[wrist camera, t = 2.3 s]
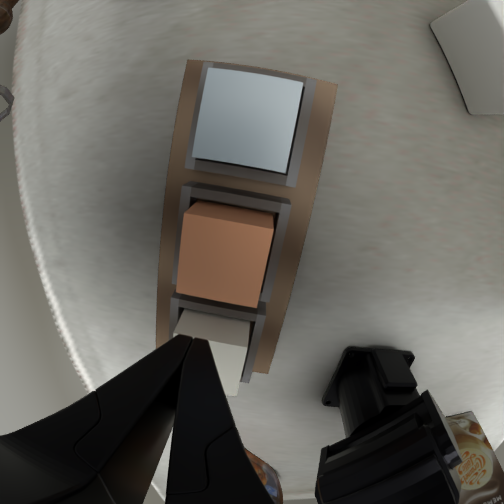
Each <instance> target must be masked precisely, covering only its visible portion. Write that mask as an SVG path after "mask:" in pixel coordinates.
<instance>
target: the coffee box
mask: <svg viewBox="0 0 504 504" xmlns="http://www.w3.org/2000/svg"><path fill="white" fill-rule="evenodd" d="M445 419H446V421H447V423H448V424H449V426H450V428H451V430H452V432H453V434H454V437H455V440H456V442H457V445H458V448H459V451H460V454H461V457H462V460H463V462H462V463H461V464H459V465H458V466H456V467H455V468H456V471H457V473H458V475H459V478H460V480H461V492H460V498H459V503H458V504H504V472H503V470H502V468H501V466H500V463H499V462H498V459H497V457H496V455H495V453H494V451H493V449H492V447H491V445H490V443H489V441H488V439H487V437H486V435H485V433H484V432H483V430H482V428H481V426H480V424H479V422H478V420H477V419H476V417H475V415H474V413H473V412H468V413H464V414H460V415H455V416H451V417H446V418H445Z"/></svg>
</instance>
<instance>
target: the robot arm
mask: <svg viewBox="0 0 504 504" xmlns="http://www.w3.org/2000/svg"><path fill="white" fill-rule="evenodd" d="M350 353H352V354H350ZM349 354H350V355H349ZM409 357H410V358H409ZM408 358H409V359H408ZM414 359H415V356H414V355H413V353H412V352H402V351H395V350H383V349H366V348H356V347H349V348H347V349H346V350H345V351H344V353H343V356H342V358H341V360H340V363H339V365H338V367H337V369H336V371H335V374H334V376H333V378H332V380H331V382H330V384H329V386H328V389H327V391H326V393H325V395H324V397H323V399H322V403H323V405H324V406H331V407H340V411H341V416H342V421H343V425H344V430H345V435H346V438H345V439H343V440H341V441H339V442H337V443H335V444H333V445H331V446H329V445H328V446H326V447H324V448H322V449H321V456H320V462H319V468H318V474H317V480H316V487H315V497H316V499H317V502H318V504H458V503H459V498H460V492H461V480H460V478H459V475H458V473H457V471H456V468H455V467H456V466H458V465H459V464H461V463H462V462H463V460H462V457H461V454H460V451H459V448H458V445H457V442H456V440H455V437H454V434H453V432H452V430H451V428H450V426H449V424H448V423H447V421H446V419H445V417H444V415H443V413H442V411H441V410H440V408H439V407H438V405H437V403H436V402H435V400H434V399H433V397H432V396H431V394H430V392H429V391H428V389H427V390H426V391H424V392H423V393H421V396H420V395H419V393H418V391H417V389H416V387H417V382H416V380H415V378H414V376H413V374H412V372H411V370H410V369H409V368H410V366H411V365H412V363H413V361H414ZM235 426H236V425H235V422H234V419H233V416H232V413H231V410H230V407H229V404H228V401H227V398H226V395H225V392H224V389H223V386H222V383H221V380H220V377H219V373H218V370H217V367H216V364H215V361H214V357H213V354H212V351H211V347H210V344H209V341H208V340H207V339H202V338H197V337H195V338H193V337H192V336H188V335H183V334H178V335H176V336H175V337H173V338H172V339H170V340H169V341H167V342H166V343H164V344H163V345H161V346H160V347H158V348H157V349H155V350H154V351H153V352H151V353H150V354H148V355H147V356H145V357H144V358H142V359H141V360H139V361H138V362H136V363H135V364H133V365H132V366H130V367H129V368H127V369H126V370H124V371H123V372H121V373H120V374H118V375H117V376H115V377H114V378H112V379H111V380H109V381H108V382H106V383H105V384H103V385H102V386H100V387H99V388H97V389H96V392H95V391H92V392H91V393H89V394H88V395H87V396H85V397H83V398H81V399H80V400H78V401H76V402H75V403H73V404H71V405H70V406H68V407H66V408H64V409H62V410H60V411H58V412H56V413H54V414H52V415H50V416H48V417H46V418H44V419H41V420H39V421H37V422H35V423H33V424H31V425H28V426H26V427H24V428H22V429H19V430H17V431H15V432H12V433H9V434H6V435H2V436H0V504H143V502H144V499H145V496H146V494H147V491H148V489H149V486H150V484H151V481H152V478H153V476H154V473H155V471H156V468H157V466H158V463H159V461H160V458H161V455H162V453H163V450H164V448H165V445H166V443H167V440H168V438H169V435H170V433H171V430H172V427H173V433H172V441H171V450H170V459H169V468H168V478H167V488H166V499H165V504H275V502H274V500H273V499H272V497H271V496H270V494H269V492H268V491H267V489H266V487H265V486H264V484H263V483H262V481H261V479H260V478H259V476H258V474H257V472H256V471H255V469H254V467H253V465H252V463H251V461H250V459H249V457H248V455H247V453H246V451H245V448H244V446H243V443H242V441H241V438H240V436H239V433H238V430H237V428H236V427H235Z"/></svg>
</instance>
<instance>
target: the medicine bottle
mask: <svg viewBox="0 0 504 504" xmlns="http://www.w3.org/2000/svg"><path fill="white" fill-rule="evenodd" d="M430 26H431V28H432V30H433V32H434V34H435V36H436V38H437V40H438V42H439V44H440V45H441V47H442V49H443V52H444V54H445V56H446V58H447V60H448V62H449V64H450V66H451V69H452V71H453V73H454V75H455V78H456V80H457V83H458V85H459V87H460V90H461V93H462V95H463V98H464V100H465V103H466V106H467V109H468V111H469V113H470V114H472V115H492V114H504V0H468V1H466V2H465V3H463V4H461V5H459V6H458V7H456V8H454V9H452V10H451V11H449V12H447V13H446V14H444V15H442V16H441V17H439V18H437V19H436V20H434V21H432V22H431V24H430Z"/></svg>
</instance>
